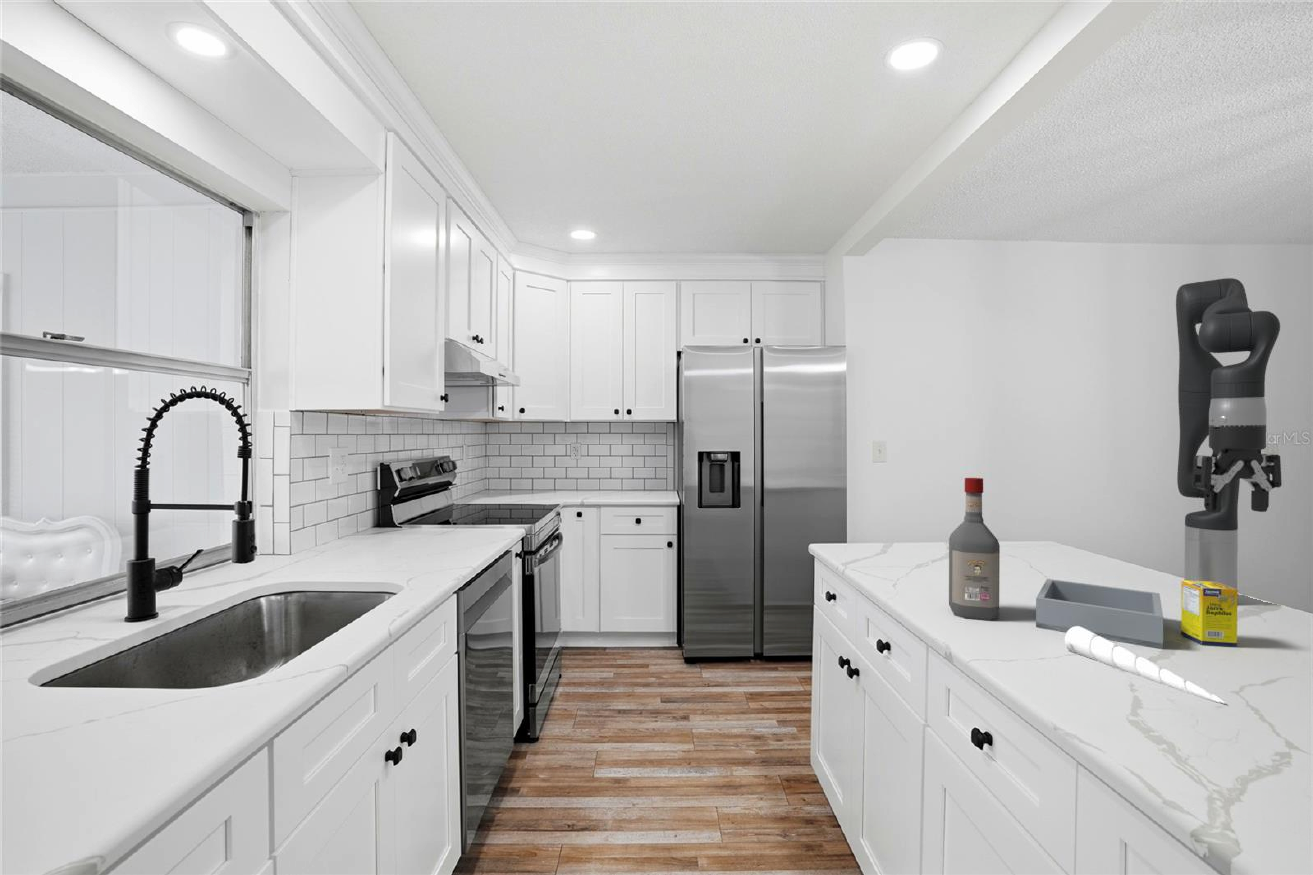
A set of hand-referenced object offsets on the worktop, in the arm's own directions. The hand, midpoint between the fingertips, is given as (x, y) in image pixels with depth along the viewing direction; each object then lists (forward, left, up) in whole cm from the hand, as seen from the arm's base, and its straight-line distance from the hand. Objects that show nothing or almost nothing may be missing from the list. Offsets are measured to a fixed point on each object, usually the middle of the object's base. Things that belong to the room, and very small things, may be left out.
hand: (1236, 511), depth 109 cm
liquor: (+5, -42, -26) cm, 50 cm away
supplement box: (-4, -3, -26) cm, 26 cm away
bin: (-3, -20, -26) cm, 33 cm away
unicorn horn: (+23, -14, -26) cm, 37 cm away
